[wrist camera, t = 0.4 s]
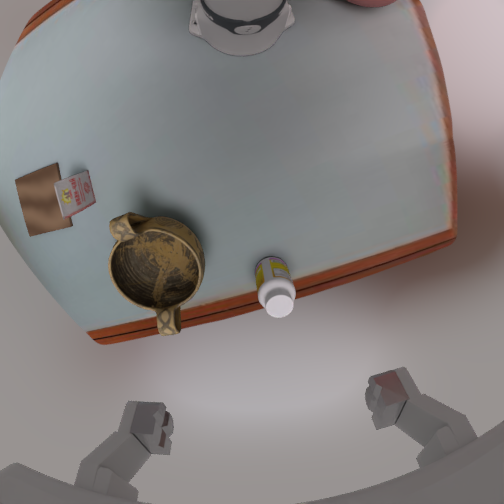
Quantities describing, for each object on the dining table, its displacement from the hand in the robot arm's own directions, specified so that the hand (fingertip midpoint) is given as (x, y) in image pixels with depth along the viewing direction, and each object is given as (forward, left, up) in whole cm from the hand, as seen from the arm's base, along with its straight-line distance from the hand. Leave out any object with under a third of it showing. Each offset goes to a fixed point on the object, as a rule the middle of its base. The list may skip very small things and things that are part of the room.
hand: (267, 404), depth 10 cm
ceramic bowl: (+10, -17, -45) cm, 49 cm away
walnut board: (-5, -44, -45) cm, 63 cm away
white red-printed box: (-5, -32, -45) cm, 55 cm away
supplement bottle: (+18, +3, -45) cm, 49 cm away
